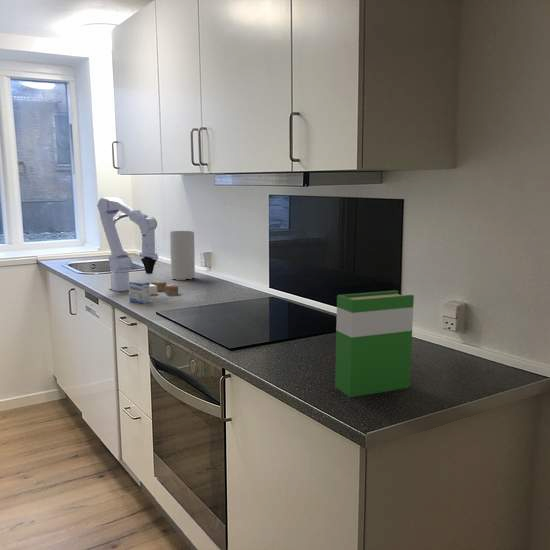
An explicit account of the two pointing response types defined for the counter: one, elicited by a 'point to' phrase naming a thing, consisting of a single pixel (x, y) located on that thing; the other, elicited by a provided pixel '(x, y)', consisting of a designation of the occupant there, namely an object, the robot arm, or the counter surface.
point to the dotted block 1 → (159, 285)
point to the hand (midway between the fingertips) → (149, 273)
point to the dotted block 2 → (171, 289)
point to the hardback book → (373, 342)
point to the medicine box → (139, 292)
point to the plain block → (153, 289)
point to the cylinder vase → (182, 255)
